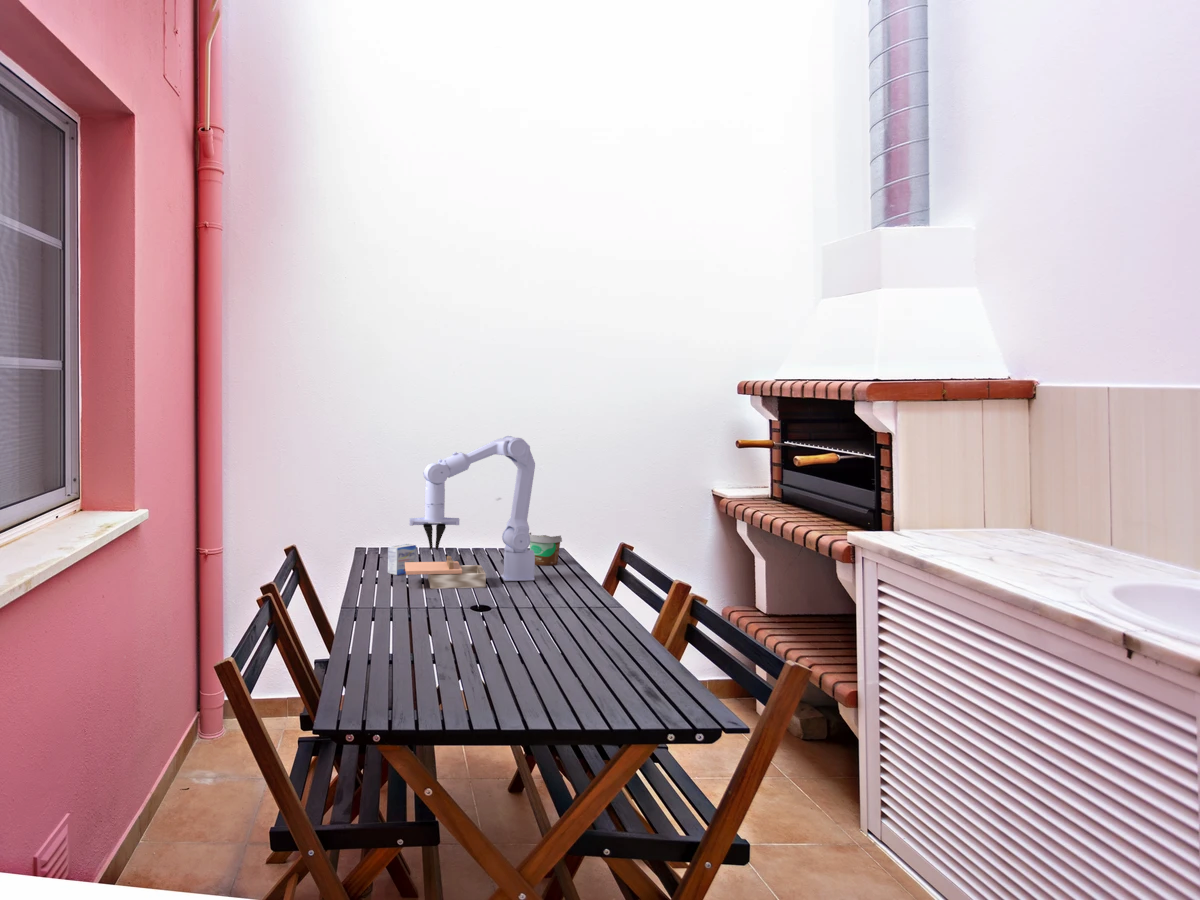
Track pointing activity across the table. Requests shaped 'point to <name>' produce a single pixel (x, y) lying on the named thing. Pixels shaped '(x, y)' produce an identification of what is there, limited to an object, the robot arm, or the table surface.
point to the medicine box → (400, 558)
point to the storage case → (459, 578)
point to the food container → (545, 549)
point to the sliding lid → (433, 567)
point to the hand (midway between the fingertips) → (433, 549)
